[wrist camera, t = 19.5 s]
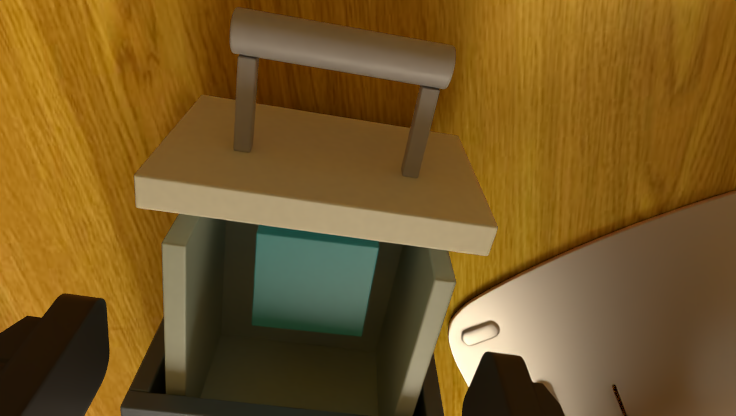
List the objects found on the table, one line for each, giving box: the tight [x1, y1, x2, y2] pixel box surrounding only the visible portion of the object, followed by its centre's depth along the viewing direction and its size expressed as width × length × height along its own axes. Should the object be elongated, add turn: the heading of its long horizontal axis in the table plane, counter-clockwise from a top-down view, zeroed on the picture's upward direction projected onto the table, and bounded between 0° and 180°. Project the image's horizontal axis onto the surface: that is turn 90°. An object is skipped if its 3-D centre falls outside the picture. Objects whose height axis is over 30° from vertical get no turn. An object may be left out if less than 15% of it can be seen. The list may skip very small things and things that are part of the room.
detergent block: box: [251, 225, 379, 337], centre depth 22 cm, size 5×5×5 cm
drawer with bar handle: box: [134, 7, 498, 416], centre depth 22 cm, size 18×11×8 cm, turn 170°
